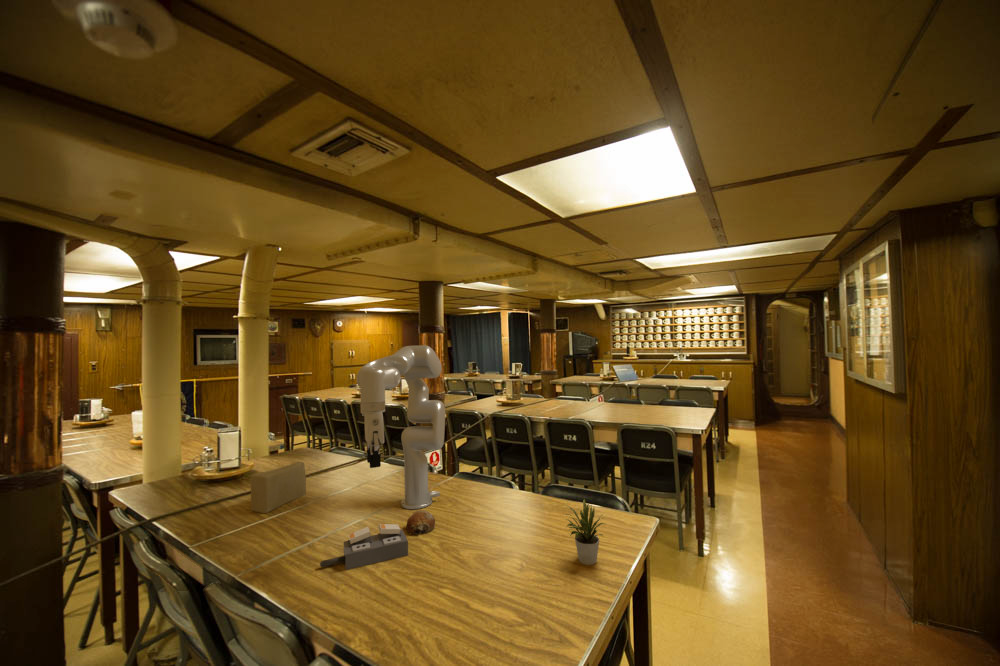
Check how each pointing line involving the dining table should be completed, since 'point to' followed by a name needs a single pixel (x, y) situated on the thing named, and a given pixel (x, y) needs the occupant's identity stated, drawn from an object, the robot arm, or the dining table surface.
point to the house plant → (586, 535)
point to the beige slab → (277, 487)
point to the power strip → (371, 550)
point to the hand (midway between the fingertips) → (373, 464)
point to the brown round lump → (420, 522)
